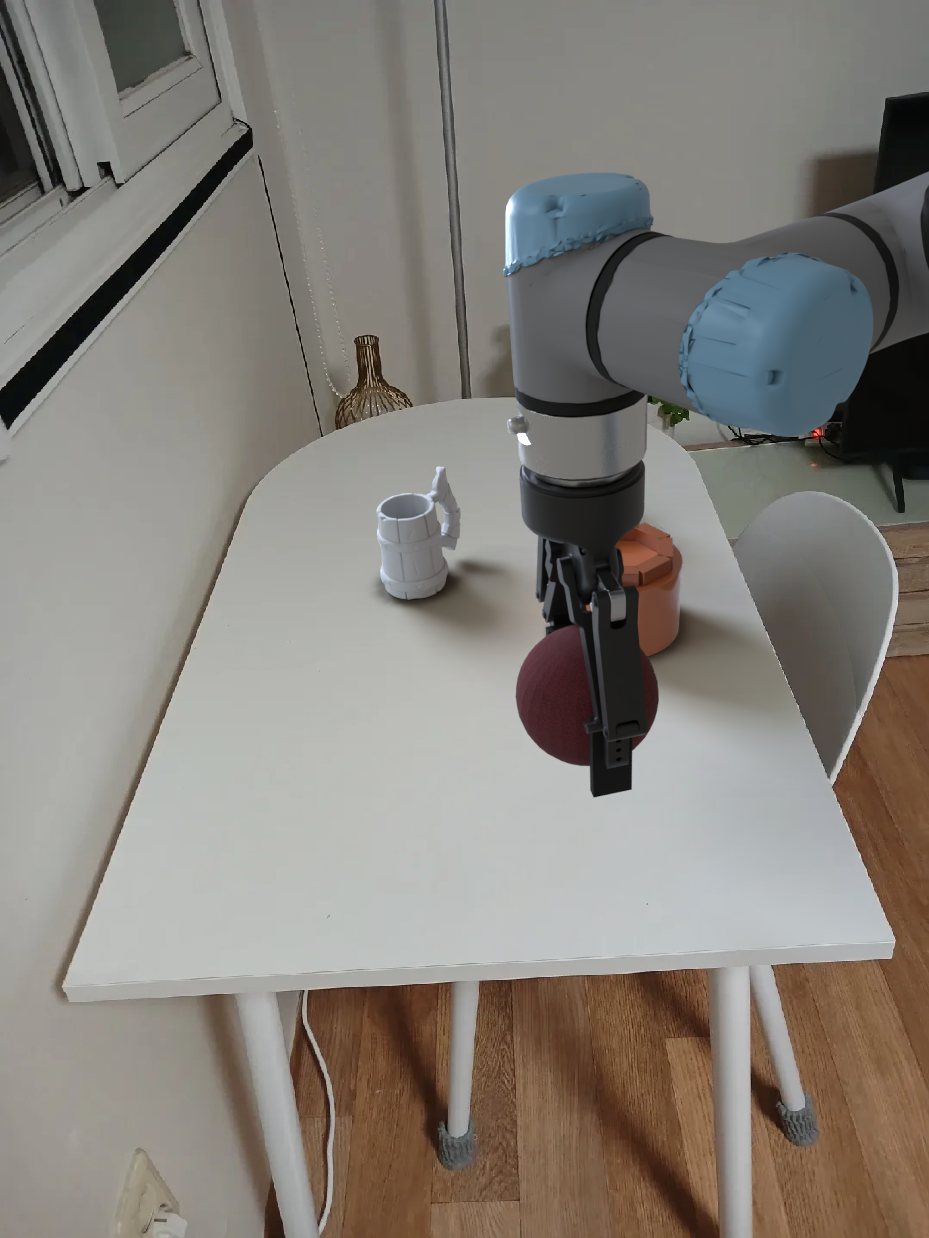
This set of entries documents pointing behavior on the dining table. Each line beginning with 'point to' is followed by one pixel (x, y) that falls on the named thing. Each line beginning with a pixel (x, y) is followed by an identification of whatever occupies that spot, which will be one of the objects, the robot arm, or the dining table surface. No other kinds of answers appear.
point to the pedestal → (653, 584)
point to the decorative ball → (567, 696)
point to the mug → (417, 539)
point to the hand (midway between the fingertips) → (587, 739)
